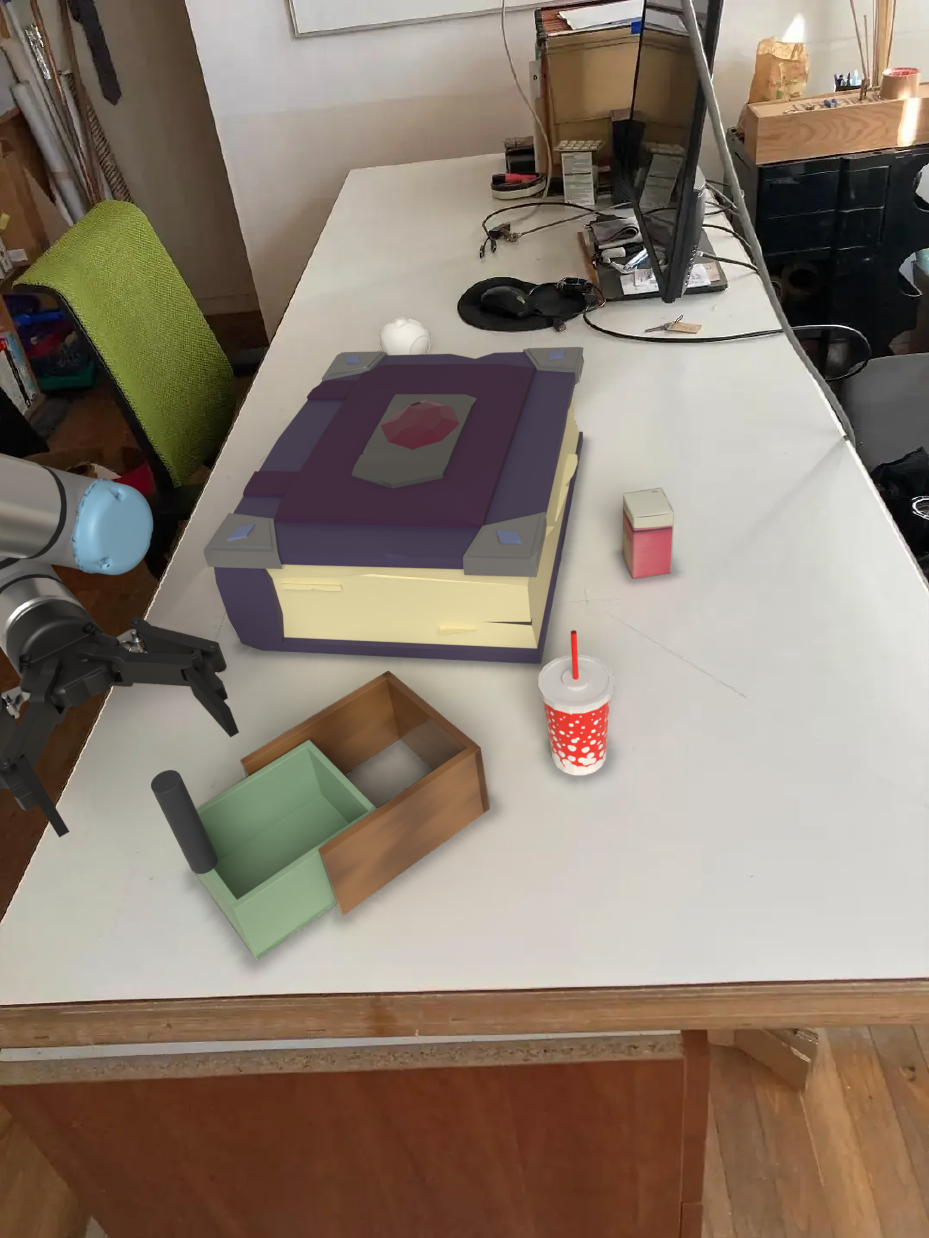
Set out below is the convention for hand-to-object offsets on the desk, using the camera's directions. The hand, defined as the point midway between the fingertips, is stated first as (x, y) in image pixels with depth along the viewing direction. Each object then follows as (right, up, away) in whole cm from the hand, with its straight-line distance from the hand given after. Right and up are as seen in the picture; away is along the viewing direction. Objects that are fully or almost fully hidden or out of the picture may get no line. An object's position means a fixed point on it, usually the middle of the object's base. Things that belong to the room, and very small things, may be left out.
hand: (147, 770), depth 67 cm
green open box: (+9, -9, +7) cm, 15 cm away
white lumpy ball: (+14, +51, +79) cm, 95 cm away
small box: (+43, +17, +33) cm, 56 cm away
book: (+19, +21, +42) cm, 51 cm away
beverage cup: (+33, -1, +13) cm, 35 cm away
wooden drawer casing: (+16, -5, +10) cm, 19 cm away
